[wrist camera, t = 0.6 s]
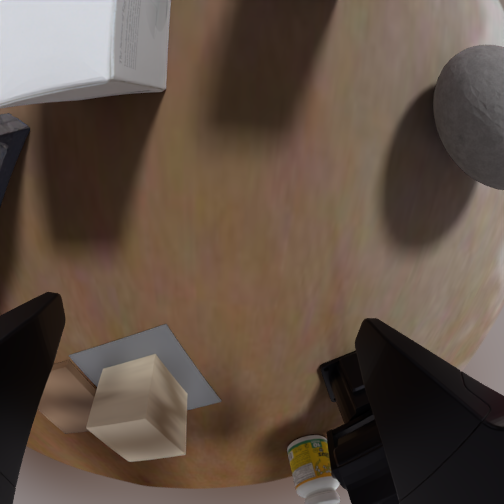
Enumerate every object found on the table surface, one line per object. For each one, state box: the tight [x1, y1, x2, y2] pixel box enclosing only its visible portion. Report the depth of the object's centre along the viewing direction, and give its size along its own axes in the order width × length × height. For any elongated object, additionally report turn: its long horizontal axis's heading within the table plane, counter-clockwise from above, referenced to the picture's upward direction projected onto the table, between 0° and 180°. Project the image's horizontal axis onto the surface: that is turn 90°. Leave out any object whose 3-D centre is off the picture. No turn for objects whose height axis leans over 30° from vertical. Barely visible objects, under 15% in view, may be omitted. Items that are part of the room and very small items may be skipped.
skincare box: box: [0, 0, 171, 108], centre depth 10 cm, size 10×6×10 cm, turn 178°
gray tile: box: [69, 324, 222, 410], centre depth 28 cm, size 11×11×1 cm
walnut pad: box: [38, 360, 96, 434], centre depth 28 cm, size 10×10×1 cm
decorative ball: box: [433, 45, 504, 190], centre depth 15 cm, size 10×10×10 cm
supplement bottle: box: [287, 435, 340, 504], centre depth 32 cm, size 5×5×10 cm
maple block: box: [86, 354, 188, 462], centre depth 24 cm, size 6×6×7 cm
